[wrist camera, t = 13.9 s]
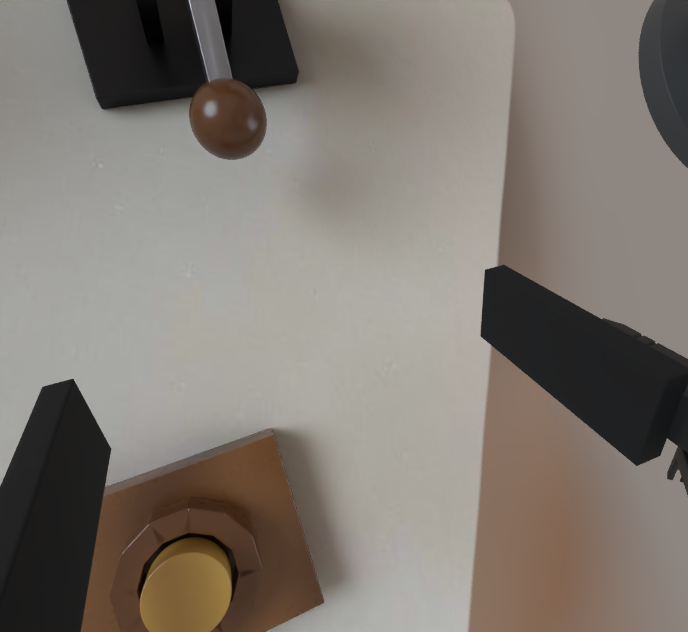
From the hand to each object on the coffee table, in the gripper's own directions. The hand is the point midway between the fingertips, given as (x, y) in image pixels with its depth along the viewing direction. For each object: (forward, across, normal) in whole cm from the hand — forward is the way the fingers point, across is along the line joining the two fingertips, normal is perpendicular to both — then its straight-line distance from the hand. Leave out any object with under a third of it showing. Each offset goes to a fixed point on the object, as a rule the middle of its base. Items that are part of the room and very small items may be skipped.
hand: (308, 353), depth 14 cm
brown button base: (+6, -8, -15) cm, 18 cm away
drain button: (+3, -7, -13) cm, 16 cm away
